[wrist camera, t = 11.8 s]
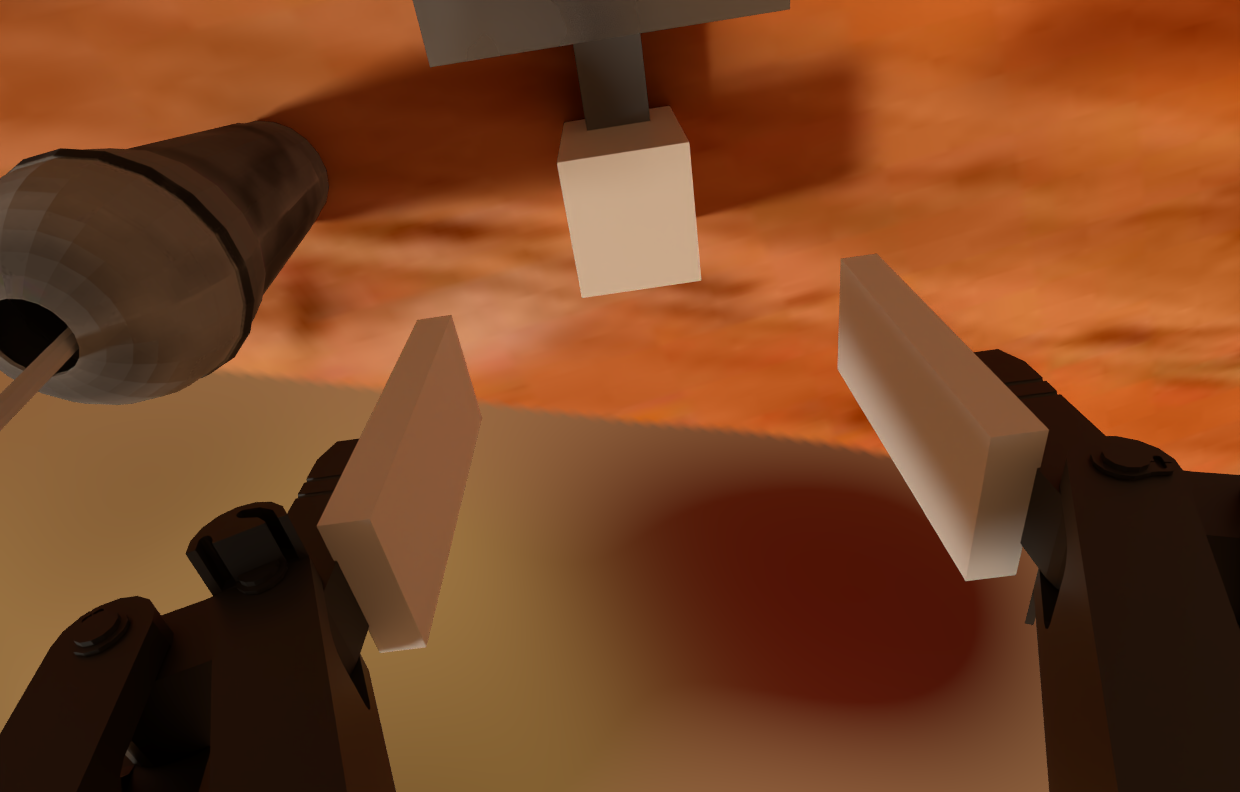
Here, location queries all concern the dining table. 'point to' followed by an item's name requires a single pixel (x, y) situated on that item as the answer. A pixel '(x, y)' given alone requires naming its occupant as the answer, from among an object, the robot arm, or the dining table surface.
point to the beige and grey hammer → (626, 178)
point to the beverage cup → (145, 259)
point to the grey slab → (558, 22)
